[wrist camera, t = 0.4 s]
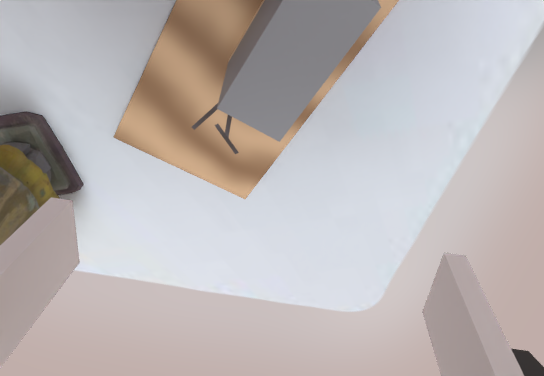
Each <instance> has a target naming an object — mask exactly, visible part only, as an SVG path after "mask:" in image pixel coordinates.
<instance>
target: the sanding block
mask: <svg viewBox="0 0 544 376" xmlns="http://www.w3.org/2000/svg"><path fill="white" fill-rule="evenodd" d="M380 8H381V6H380V4H379V1H378V0H263V1H262V3H261V5H260V6H259V8H258V10H257V12H256V13H255V15H254V17H253V19H252V20H251V22H250V24H249V25H248V27H247V29H246V31H245V32H244V34H243V36H242V37H241V39H240V41H239V43H238V44H237V46H236V48H235V49H234V51H233V53H232V55H231V56H230V58H229V61H228V65H227V69H226V73H225V77H224V81H223V86H222V90H221V94H220V98H219V102H218V106H217V109H218V110H220V111H222V112H224V113H226V114H228V115H230V116H232V117H233V118H235V119H237V120H239V121H241V122H243V123H245V124H247V125H249V126H250V127H252V128H254V129H256V130H258V131H260V132H262V133H264V134H266V135H267V136H269V137H271V138H273V139H275V140H277V141H279V142H280V141H281V139H282V138H283V137H284V135H285V134H286V133H287V132H288V130H289V129H290V128H291V126H292V125H293V124H294V122H295V121H296V120H297V118H298V117H299V116H300V114H301V113H302V112H303V110H304V109H305V108H306V106H307V105H308V104H309V102H310V101H311V100H312V98H313V97H314V96H315V94H316V93H317V92H318V90H319V89H320V88H321V87H322V85H323V84H324V83H325V81H326V80H327V79H328V77H329V76H330V75H331V73H332V72H333V71H334V69H335V68H336V67H337V65H338V64H339V63H340V61H341V60H342V59H343V57H344V56H345V55H346V53H347V52H348V51H349V49H350V48H351V47H352V45H353V44H354V43H355V42H356V40H357V39H358V38H359V36H360V35H361V34H362V32H363V31H364V30H365V28H366V27H367V26H368V24H369V23H370V22H371V20H372V19H373V18H374V16H375V15H376V14H377V12H378V11H379V10H380Z"/></svg>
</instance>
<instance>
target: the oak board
mask: <svg viewBox="0 0 544 376" xmlns="http://www.w3.org/2000/svg"><path fill="white" fill-rule="evenodd" d="M262 1H263V0H176V3H175V5H174V7H173V9H172V11H171V13H170V16H169V18H168V20H167V22H166V24H165V26H164V29H163V31H162V33H161V35H160V37H159V39H158V42H157V44H156V46H155V48H154V50H153V53H152V55H151V57H150V59H149V61H148V63H147V66H146V68H145V70H144V72H143V74H142V76H141V79H140V81H139V83H138V85H137V87H136V89H135V92H134V94H133V96H132V98H131V100H130V102H129V105H128V107H127V109H126V111H125V113H124V116H123V118H122V120H121V122H120V124H119V126H118V129H117V131H116V133H115V135H114V138H116V139H118V140H120V141H122V142H124V143H127V144H129V145H131V146H133V147H135V148H137V149H139V150H141V151H144V152H146V153H148V154H150V155H152V156H154V157H156V158H158V159H161V160H163V161H165V162H167V163H169V164H171V165H173V166H175V167H178V168H180V169H182V170H184V171H186V172H188V173H190V174H193V175H195V176H197V177H199V178H201V179H203V180H205V181H207V182H210V183H212V184H214V185H216V186H218V187H220V188H222V189H224V190H227V191H229V192H231V193H233V194H235V195H237V196H239V197H241V198H244V199H246V197H247V196H248V195H249V194H250V192H251V191H252V190H253V188H254V187H255V186H256V184H257V183H258V182H259V181H260V179H261V178H262V177H263V175H264V174H265V173H266V172H267V170H268V169H269V168H270V166H271V165H272V164H273V162H274V161H275V160H276V159H277V157H278V156H279V155H280V153H281V152H282V151H283V150H284V148H285V147H286V146H287V144H288V143H289V142H290V140H291V139H292V138H293V137H294V135H295V134H296V133H297V131H298V130H299V129H300V128H301V126H302V125H303V124H304V122H305V121H306V120H307V118H308V117H309V116H310V115H311V113H312V112H313V111H314V109H315V108H316V107H317V106H318V104H319V103H320V102H321V100H322V99H323V98H324V96H325V95H326V94H327V93H328V91H329V90H330V89H331V87H332V86H333V85H334V84H335V82H336V81H337V80H338V78H339V77H340V76H341V74H342V73H343V72H344V71H345V69H346V68H347V67H348V65H349V64H350V63H351V62H352V60H353V59H354V58H355V56H356V55H357V54H358V52H359V51H360V50H361V49H362V47H363V46H364V45H365V43H366V42H367V41H368V40H369V38H370V37H371V36H372V34H373V33H374V32H375V30H376V29H377V28H378V27H379V25H380V24H381V23H382V21H383V20H384V19H385V18H386V16H387V15H388V14H389V12H390V11H391V10H392V8H393V7H394V6H395V5H396V3H397V2H398V1H399V0H378V1H379V4H380V6H381V8H380V10H379V11H378V12H377V14H376V15H375V16H374V18H373V19H372V20H371V22H370V23H369V24H368V26H367V27H366V28H365V30H364V31H363V32H362V34H361V35H360V36H359V38H358V39H357V40H356V42H355V43H354V44H353V45H352V47H351V48H350V49H349V51H348V52H347V53H346V55H345V56H344V57H343V59H342V60H341V61H340V63H339V64H338V65H337V67H336V68H335V69H334V71H333V72H332V73H331V75H330V76H329V77H328V79H327V80H326V81H325V83H324V84H323V85H322V87H321V88H320V89H319V90H318V92H317V93H316V94H315V96H314V97H313V98H312V100H311V101H310V102H309V104H308V105H307V106H306V108H305V109H304V110H303V112H302V113H301V114H300V116H299V117H298V118H297V120H296V121H295V122H294V124H293V125H292V126H291V128H290V129H289V130H288V132H287V133H286V134H285V135H284V137H283V138H282V139H281V141H280V142H279V141H277V140H275V139H273V138H271V137H269V136H267V135H266V134H264V133H262V132H260V131H258V130H256V129H254V128H252V127H250V126H249V125H247V124H245V123H243V122H241V121H239V120H237V119H235V118H233V117H232V116H230V115H228V114H226V113H224V112H222V111H220V110H218V109H217V106H218V102H219V98H220V94H221V90H222V86H223V81H224V77H225V73H226V69H227V65H228V61H229V58H230V56H231V55H232V53H233V51H234V49H235V48H236V46H237V44H238V43H239V41H240V39H241V37H242V36H243V34H244V32H245V31H246V29H247V27H248V25H249V24H250V22H251V20H252V19H253V17H254V15H255V13H256V12H257V10H258V8H259V6H260V5H261V3H262Z"/></svg>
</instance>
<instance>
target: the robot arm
mask: <svg viewBox="0 0 544 376" xmlns="http://www.w3.org/2000/svg"><path fill="white" fill-rule="evenodd" d="M78 264H79V253H78V245H77V236H76V227H75V219H74V210H73V202H72V200H67V199H59V198H52V197H51V198H50V199H49V200H48V201H47V202H46V203H45V204H44V205H42V206H41V207H40V208H39V209H38V210H37V211H36V212H35V213H34V214H33V215H32V216H31V217H30V218H29V219H28V220H27V221H26V222H25V223H24V224H22V225H21V226H20V227H19V228H18V229H17V230H16V231H15V232H14V233H13V234H12V235H11V236H10V237H9V238H8V239H7V240H6V241H5V242H4V243H2V244H1V245H0V368H1V367H2V366H3V364H4V363H5V361H6V360H7V359H8V358H9V356H10V355H11V354H12V352H13V351H14V349H15V348H16V347H17V345H18V344H19V343H20V341H21V340H22V339H23V337H24V336H25V335H26V333H27V332H28V331H29V329H30V328H31V327H32V325H33V324H34V323H35V321H36V320H37V319H38V317H39V316H40V315H41V313H42V312H43V311H44V309H45V308H46V307H47V305H48V304H49V303H50V301H51V300H52V299H53V297H54V296H55V295H56V293H57V292H58V290H59V289H60V288H61V287H62V285H63V284H64V283H65V281H66V280H67V279H68V277H69V276H70V274H71V273H72V272H73V270H74V269H75V268H76V266H77V265H78ZM423 315H424V318H425V322H426V325H427V329H428V332H429V336H430V339H431V343H432V346H433V349H434V353H435V356H436V360H437V363H438V366H439V370H440V373H441V376H544V367H543V366H542V365H541V364H540V363H539V362H538V361H537V360H536V359H535V358H534V357H533V356H532V354H531V353H530V352H529V351H523V350H516V349H511V347H510V345H509V343H508V341H507V340H506V337H505V335H504V333H503V331H502V329H501V327H500V325H499V323H498V321H497V319H496V317H495V315H494V312H493V310H492V308H491V306H490V304H489V302H488V300H487V298H486V296H485V294H484V292H483V290H482V288H481V286H480V284H479V282H478V279H477V277H476V275H475V273H474V271H473V269H472V267H471V265H470V263H469V261H468V259H467V257H466V256H464V255H456V254H450V253H444V254H443V256H442V259H441V262H440V265H439V268H438V270H437V273H436V276H435V279H434V281H433V284H432V287H431V290H430V293H429V295H428V298H427V301H426V303H425V306H424V309H423Z"/></svg>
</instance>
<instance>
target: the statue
mask: <svg viewBox="0 0 544 376" xmlns="http://www.w3.org/2000/svg"><path fill="white" fill-rule="evenodd" d="M82 186H83V183H82V181H81V179H80V178H79V176H78V174H77V172H76V170H75V169H74V167H73V165H72V163H71V162H70V160H69V158H68V156H67V154H66V153H65V151H64V149H63V147H62V146H61V144H60V142H59V141H58V139H57V138H56V136H55V135H54V133H53V131H52V130H51V128H50V127H49V125H48V124H47V122H46V121H45V119H44V117H43V116H41V115H37V114H33V113H29V112H22V113H16V114H9V115H3V116H0V245H1V244H2V243H4V242H5V241H6V240H7V239H8V238H9V237H10V236H11V235H12V234H13V233H14V232H15V231H16V230H17V229H18V228H19V227H20V226H21V225H22V224H24V223H25V222H26V221H27V220H28V219H29V218H30V217H31V216H32V215H33V214H34V213H35V212H36V211H37V210H38V209H39V208H40V207H41V206H42V205H44V204H45V203H46V202H47V201H48V200H49V199H50V198H51V197H52V198H59V197H58V195H61V194H69V193H73V192H76V191H78V190H80V189H81V187H82ZM59 199H60V198H59Z"/></svg>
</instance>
